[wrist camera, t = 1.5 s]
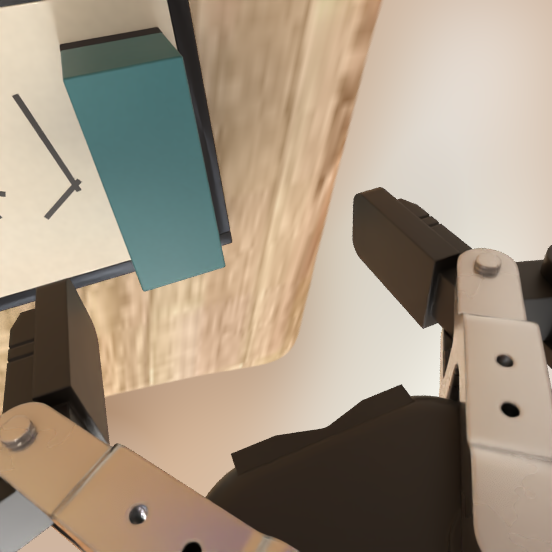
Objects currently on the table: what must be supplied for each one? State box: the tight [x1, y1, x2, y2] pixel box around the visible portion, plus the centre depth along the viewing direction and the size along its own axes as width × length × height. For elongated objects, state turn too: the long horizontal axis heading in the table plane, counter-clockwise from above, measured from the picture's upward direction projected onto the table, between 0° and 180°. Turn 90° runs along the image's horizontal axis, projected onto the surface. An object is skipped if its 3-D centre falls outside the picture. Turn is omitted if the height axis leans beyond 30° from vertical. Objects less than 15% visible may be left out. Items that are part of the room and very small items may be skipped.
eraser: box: [60, 27, 225, 291], centre depth 23 cm, size 11×5×6 cm, turn 5°
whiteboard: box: [0, 0, 232, 311], centre depth 24 cm, size 16×22×1 cm
